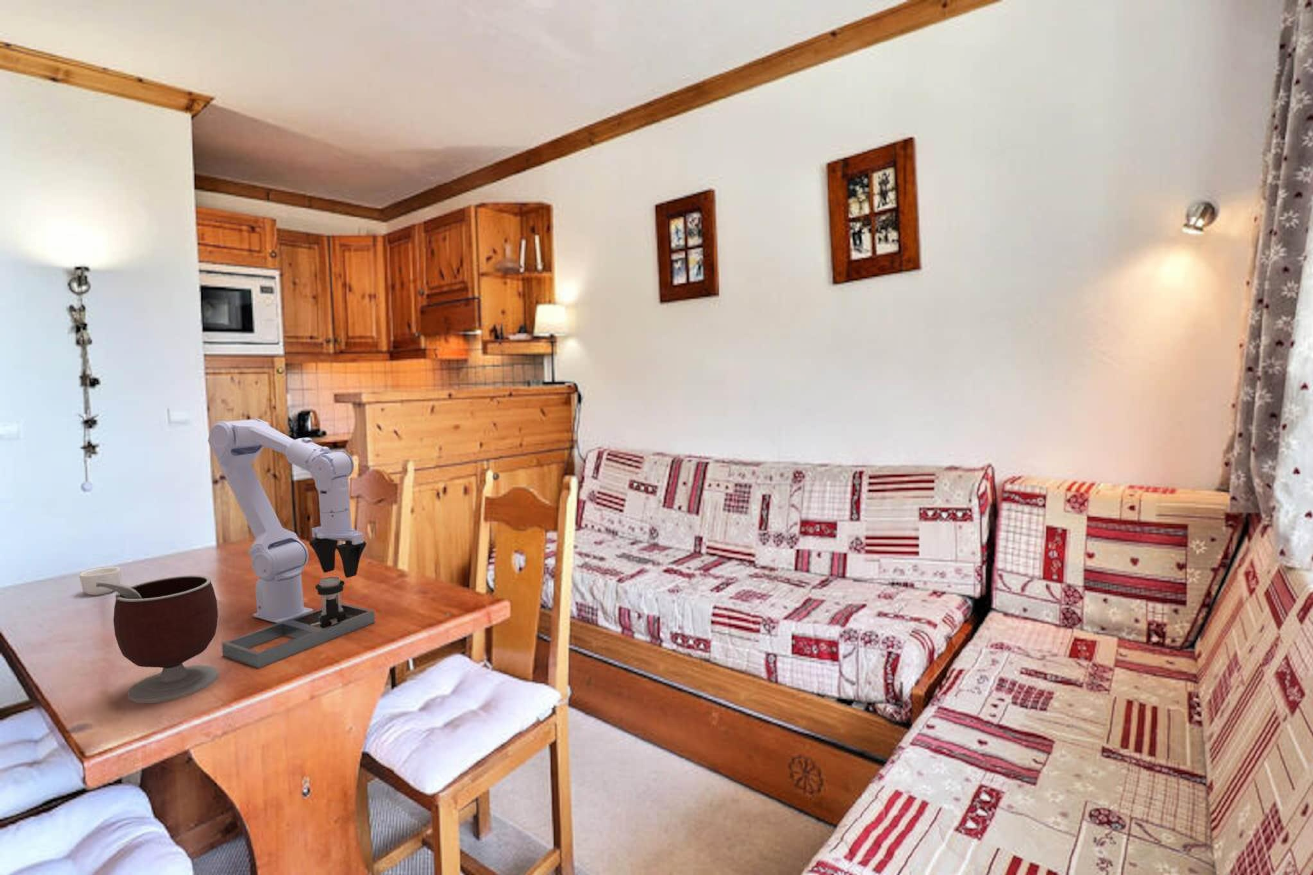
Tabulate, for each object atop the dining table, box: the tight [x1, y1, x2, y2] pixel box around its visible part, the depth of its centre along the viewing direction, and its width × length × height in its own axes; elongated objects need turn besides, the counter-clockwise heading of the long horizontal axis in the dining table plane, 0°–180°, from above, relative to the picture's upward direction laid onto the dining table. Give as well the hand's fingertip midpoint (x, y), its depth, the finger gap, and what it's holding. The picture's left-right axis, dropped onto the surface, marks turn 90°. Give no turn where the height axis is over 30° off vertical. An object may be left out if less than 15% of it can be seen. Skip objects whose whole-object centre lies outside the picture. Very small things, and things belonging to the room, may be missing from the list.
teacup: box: [79, 566, 122, 596], centre depth 161 cm, size 10×8×5 cm
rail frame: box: [221, 602, 376, 669], centre depth 129 cm, size 12×24×2 cm, turn 150°
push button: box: [311, 576, 347, 629], centre depth 133 cm, size 7×5×10 cm
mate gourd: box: [96, 574, 219, 704], centre depth 109 cm, size 16×14×20 cm
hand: (339, 573), depth 137 cm, fingers open, 7 cm apart
